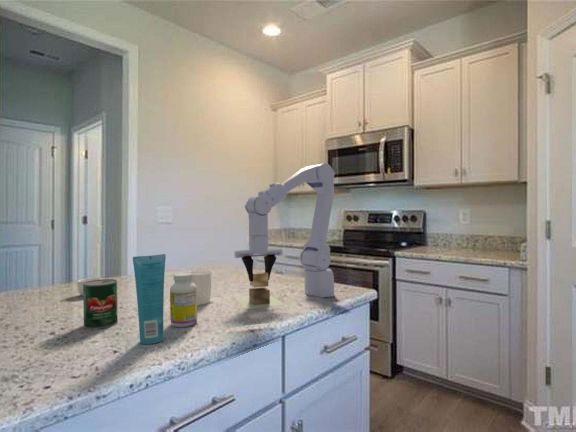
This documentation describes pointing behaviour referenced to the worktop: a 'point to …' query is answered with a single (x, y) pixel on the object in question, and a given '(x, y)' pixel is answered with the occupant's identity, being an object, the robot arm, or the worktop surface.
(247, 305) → the build board
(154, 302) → the tube
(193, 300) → the supplement bottle
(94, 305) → the canned tomato
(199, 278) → the white cup
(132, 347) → the worktop surface
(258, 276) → the oak block
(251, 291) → the walnut block
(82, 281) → the teacup
